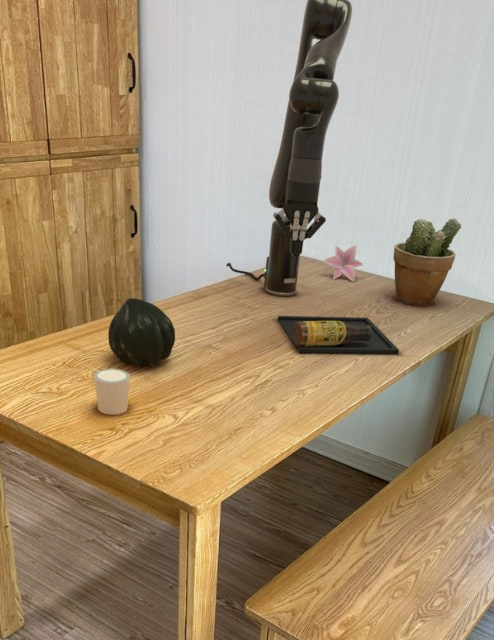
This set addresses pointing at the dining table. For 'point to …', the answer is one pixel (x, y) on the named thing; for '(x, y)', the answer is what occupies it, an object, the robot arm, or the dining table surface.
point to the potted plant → (423, 262)
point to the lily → (344, 262)
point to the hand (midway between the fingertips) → (295, 255)
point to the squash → (141, 333)
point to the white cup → (112, 390)
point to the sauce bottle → (329, 333)
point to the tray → (373, 346)
